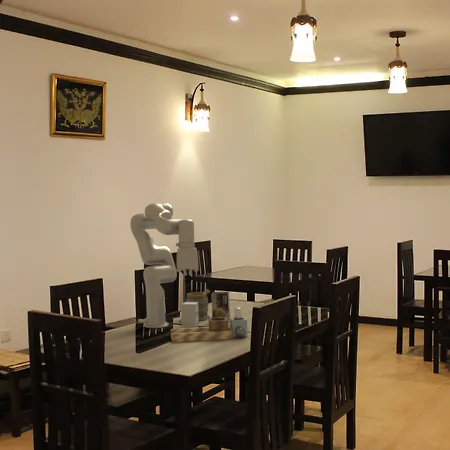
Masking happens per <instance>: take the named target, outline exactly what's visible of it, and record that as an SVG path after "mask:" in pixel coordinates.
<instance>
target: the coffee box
mask: <svg viewBox="0 0 450 450" xmlns="http://www.w3.org/2000/svg"><path fill="white" fill-rule="evenodd" d="M210 296H211V318H218V317H225V318H226V319H227V320H228V323H229V324H230V318H231V308H230V307H231V305H230V291H213V292H212V293H210Z"/></svg>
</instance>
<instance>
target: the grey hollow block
mask: <svg viewBox="0 0 450 450" xmlns="http://www.w3.org/2000/svg"><path fill="white" fill-rule="evenodd" d="M229 324H230V325H231V327H232V336H233V338H241V339H242V338H245V337H246V338H247V337H248V319H247V318H246V317H245V316H242V320H235V317H230V323H229Z"/></svg>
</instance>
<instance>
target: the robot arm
mask: <svg viewBox="0 0 450 450" xmlns="http://www.w3.org/2000/svg"><path fill="white" fill-rule="evenodd" d="M173 215H174V209H173V207H172V205H171V204H169V203H167V202H158V203H150V204H148V205H147V206H145V208H144V212H143V213H137V214H134V215H133V216H131V218H130V230H131V233H132V236H133V237H134V239H135V241H136V244H137V246H138V251H139V253H140V258H141V260H142V263H143V264H144V265H148V266H147V267H145V268H144V270H143V280H144V285H145V296H146V297H145V298H146V303H145V305H146V318H144V319H143V318H140V319H139V318H138V320H137V323H138V324H144V325H143V326H144V328H147V329H162V328H166V327H169V322H167V321H166V301H165V300H166V297H165V289H164V288H163V287H162V285H161V284H166V283H173V282H175V280H176V279H177V276H178V275H177V273H181V274H183V276H184V283H185V284H186V285H190V284H191V282H192V275H193V274H194V273H196V272H198V271H199V255H198V250H197V247H195V246H196V245H195V242H196V241H195V223H194V220H193V219H185V218H172V217H173ZM146 230H157V231H158V232H159V233H160V234H162V235H166V236H173V235H174V236H175V235H176V236H177V235H178V242H176V243H175V247H178V248H177V250H176V264H175V261H174V257H173V254H172V252H171V250H170V248H169V247H167V246H166V245H155V241H154V238H153V236H152V235H151V234H150V233H149V232H147V231H146ZM187 270H188V273H187Z"/></svg>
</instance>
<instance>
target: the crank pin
mask: <svg viewBox="0 0 450 450" xmlns="http://www.w3.org/2000/svg"><path fill="white" fill-rule="evenodd" d="M242 311H243V310H242V307H234V318H235V320H242V317H243V316H242V313H243V312H242Z"/></svg>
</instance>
